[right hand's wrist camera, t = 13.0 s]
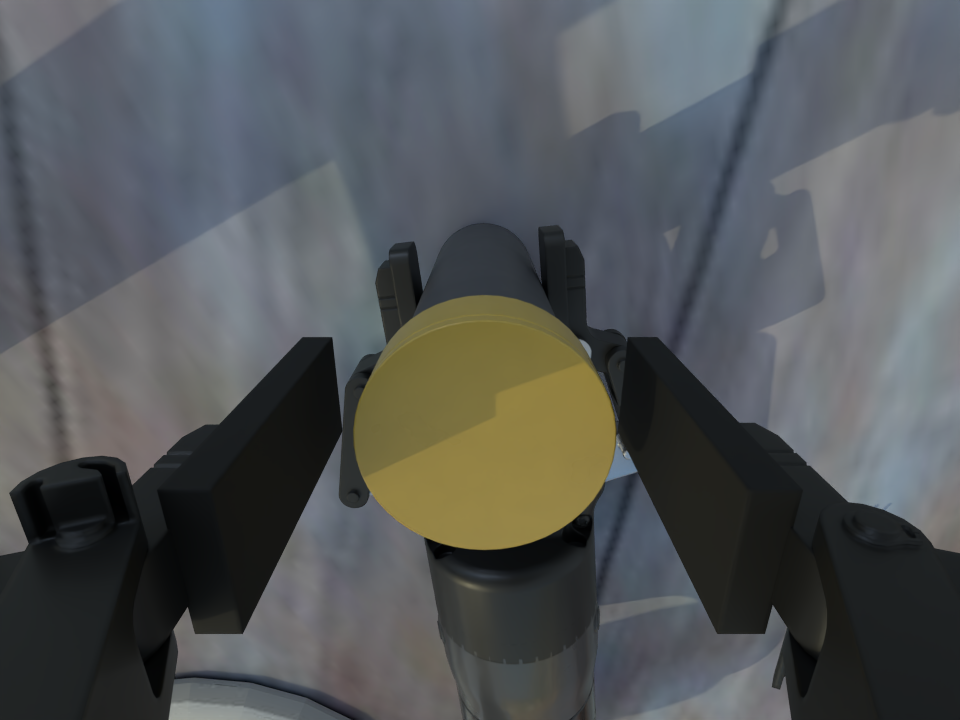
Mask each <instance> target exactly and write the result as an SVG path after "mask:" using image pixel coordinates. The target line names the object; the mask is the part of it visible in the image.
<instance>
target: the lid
mask: <svg viewBox="0 0 960 720" xmlns="http://www.w3.org/2000/svg"><path fill="white" fill-rule="evenodd" d="M616 432H617V429H616V421H615V414H614V410H613V407H612V403H611V400H610V397H609V395H608V393H607V391H606V389H605V386H604V384H603V382H602V380H601V379H600V376H599V374H598V372H597V371H596V369H595V367H594V365H593V363H592V361H591V359H590V357H589V355H588V353H587V351H586V350H585V348H584V347H583V345H582V344H581V342H580V340H579V339H578V338H577V337H576V336H575V335H574V333H573V332H572V331H571V330H570V329H569V328H568V327H567V326H566V325H564V324H563V323H562V322H561V321H560V320H559V319H557V318H556V317H554V316H553V315H551V314H550V313H548V312H547V311H545V310H543V309H541V308H539V307H537V306H534V305H532V304H530V303H527V302H524V301H521V300H518V299H513V298H508V297H503V296H492V295H478V296H466V297H461V298H456V299H452V300H449V301H446V302H443V303H440V304H437V305H435V306H433V307H431V308H429V309H427V310H425V311H423V312H421V313H420V314H418V315H417V316H415V317H414V318H412V319H411V320H409V321H408V322H407V323H406V324H405V325H404V326H403V327H401V328H400V329H399V330H398V331H397V333H396V334H395V335H394V336H393V337H392V338H391V340H390V341H389V342H388V344H387V345H386V347H385V349H384V350H383V352H382V353H381V355H380V357H379V359H378V361H377V363H376V365H375V368H374V370H373V372H372V374H371V376H370V378H369V380H368V382H367V384H366V386H365V388H364V390H363V392H362V395H361V397H360V399H359V402H358V406H357V410H356V413H355V419H354V427H353V440H354V450H355V455H356V460H357V463H358V466H359V469H360V472H361V475H362V477H363V479H364V481H365V483H366V485H367V487H368V489H369V490H370V492H371V493H372V494H373V496H374V497H375V499H376V500H377V501H378V502H379V504H380V505H381V506H382V507H383V508H384V509H385V510H386V511H387V512H388V513H389V514H390V515H391V516H392V517H394V518H395V519H396V520H397V521H398V522H400V523H401V524H403V525H404V526H406V527H407V528H409V529H410V530H412V531H414V532H416V533H417V534H419V535H421V536H423V537H425V538H428V539H431V540H433V541H436V542H438V543H442V544H446V545H449V546H453V547H459V548H465V549H477V550H493V549H504V548H510V547H516V546H520V545H524V544H528V543H531V542H534V541H536V540H539V539H542V538H544V537H546V536H548V535H550V534H552V533H554V532H556V531H558V530H560V529H561V528H563V527H564V526H566V525H567V524H568V523H570V522H571V521H573V520H574V519H575V518H576V517H577V516H578V515H580V514H581V513H582V512H583V511H584V510H585V509H586V508H587V507H588V505H589V504H590V503H591V502H592V501H593V500H594V498H595V497H596V495H597V494H598V492H599V491H600V490H601V488H602V486H603V484H604V482H605V480H606V478H607V476H608V474H609V471H610V468H611V465H612V462H613V459H614V454H615V448H616Z"/></svg>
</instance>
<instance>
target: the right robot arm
mask: <svg viewBox="0 0 960 720" xmlns="http://www.w3.org/2000/svg"><path fill="white" fill-rule="evenodd" d="M341 433H342V423H341V414H340V405H339V395H338V386H337V377H336V368H335V359H334V349H333V340H332V337H302V338H301V339H300V341H299V342H298V343H297V344H296V345H295V346H294V347H293V348H292V349H291V350H290V351H289V352H288V353H287V354H286V355H285V356H284V357H283V358H282V359H281V360H280V361H279V363H278V364H277V365H276V366H275V367H274V368H273V369H272V370H271V371H270V372H269V373H268V374H267V375H266V376H265V377H264V378H263V379H262V380H261V381H260V382H259V383H258V385H257V386H256V387H255V388H254V389H253V390H252V391H251V392H250V393H249V394H248V395H247V396H246V397H245V398H244V399H243V400H242V401H241V402H240V403H239V404H238V405H237V407H236V408H235V409H234V410H233V411H232V412H231V413H230V414H229V415H228V416H227V417H226V418H225V419H224V420H223V421H222V422H221V423H220V424H219V425H204V426H202V427H200V428H199V429H197V430H195V431H193V432H191V433H189V434H188V435H186V436H184V437H182V438H181V439H180V440H179V441H178V442H177V443H176V444H175V445H174V446H173V447H172V448H171V449H170V450H169V451H168V452H167V455H163V456H162V457H161V458H160V459H159V460H158V461H157V462H156V463H155V464H154V468H150V469H149V470H148V471H147V472H146V473H145V474H144V475H143V476H142V477H141V478H140V479H138V480H137V481H136V482H135V483H134V484H133V485H132V484H131V480H130V477H129V473H128V470H127V466H126V463H125V462H123V461H121V460H120V459H118V458H115V457H107V456H96V457H85V458H79V459H75V460H71V461H67V462H63V463H60V464H57V465H54V466H52V467H49V468H47V469H44V470H42V471H39V472H37V473H36V474H34V475H32V476H30V477H29V478H27V479H25V480H23V481H22V482H20V483H19V484H18V485H17V486H16V487H15V488H14V489H13V490H12V491H11V492H10V493H9V494H10V496H11V499H12V501H13V504H14V507H15V509H16V512H17V514H18V517H19V519H20V522H21V525H22V527H23V530H24V532H25V535H26V537H27V540H28V543H29V544H28V546H27V548H26V550H25V551H23V552H18V553H12V554H7V555H2V556H0V720H169V714H170V706H171V699H172V692H173V685H174V678H175V671H176V663H177V656H178V648H177V641H176V638H175V634H174V631H173V629H174V627H175V626H176V624H177V623H178V621H179V619H180V618H181V616H182V615H183V613H184V612H185V610H186V609H187V607H188V609H189V613H190V616H191V620H192V624H193V628H194V631H195V634H243V632H244V630H245V628H246V626H247V624H248V622H249V620H250V618H251V616H252V614H253V612H254V610H255V608H256V606H257V604H258V602H259V600H260V598H261V596H262V594H263V591H264V589H265V587H266V585H267V583H268V581H269V579H270V577H271V575H272V573H273V571H274V569H275V567H276V565H277V563H278V561H279V559H280V557H281V555H282V553H283V551H284V549H285V547H286V545H287V543H288V541H289V539H290V537H291V535H292V533H293V530H294V528H295V526H296V524H297V522H298V520H299V518H300V516H301V514H302V512H303V510H304V508H305V506H306V504H307V502H308V500H309V498H310V496H311V494H312V492H313V490H314V488H315V486H316V484H317V482H318V480H319V478H320V476H321V474H322V472H323V470H324V467H325V465H326V463H327V461H328V459H329V457H330V455H331V453H332V451H333V449H334V447H335V445H336V443H337V441H338V439H339V437H340V435H341ZM618 433H619V435H620V437H621V439H622V441H623V443H624V445H625V447H626V449H627V451H628V453H629V455H630V457H631V459H632V461H633V463H634V465H635V467H636V470H637V472H638V474H639V476H640V478H641V480H642V482H643V484H644V486H645V488H646V490H647V492H648V494H649V496H650V498H651V500H652V502H653V504H654V506H655V508H656V510H657V512H658V514H659V516H660V518H661V520H662V522H663V524H664V526H665V528H666V530H667V533H668V535H669V537H670V539H671V541H672V543H673V545H674V547H675V549H676V551H677V553H678V555H679V557H680V559H681V561H682V563H683V565H684V567H685V569H686V571H687V573H688V575H689V577H690V579H691V581H692V583H693V585H694V587H695V589H696V591H697V594H698V596H699V598H700V600H701V602H702V604H703V606H704V608H705V610H706V612H707V614H708V616H709V618H710V620H711V622H712V624H713V626H714V628H715V630H716V632H717V634H765V631H766V628H767V624H768V620H769V616H770V613H771V609H772V605H773V606H774V607H775V609H776V610H777V612H778V613H779V615H780V617H781V618H782V620H783V621H784V623H785V624H786V626H787V631H786V634H785V638H784V641H783V645H782V648H781V652H780V655H779V659H778V662H777V666H776V669H775V673H774V677H773V683H772V687H773V688H776V689H780V688H781V684H782V681H783V677H785V676H786V683H787V690H788V698H789V705H790V712H791V719H792V720H960V553H955V552H950V551H945V550H940V549H935V548H934V547H933V545H932V543H931V542H930V541H929V540H928V539H927V537H926V536H925V535H924V534H923V533H922V532H921V531H920V530H919V529H917V528H916V527H915V526H913V525H912V524H910V523H909V522H907V521H906V520H904V519H902V518H900V517H898V516H896V515H894V514H891V513H889V512H887V511H885V510H882V509H879V508H875V507H872V506H868V505H864V504H858V503H849V502H847V501H846V500H845V499H844V498H843V497H842V496H841V495H840V494H839V493H838V492H837V491H836V490H835V489H834V488H833V487H832V486H831V485H830V484H828V483H827V482H826V481H825V480H824V479H823V478H822V477H821V476H820V475H819V474H818V473H817V472H816V471H815V470H814V469H813V468H812V467H811V466H807V464H806V462H805V461H804V460H803V459H802V458H801V457H800V456H799V455H798V454H797V453H794V452H793V451H794V450H793V449H792V448H791V447H790V446H789V445H788V444H786V443H785V442H784V441H783V440H782V439H781V438H780V437H779V436H778V435H776V434H774V433H773V432H771V431H769V430H767V429H765V428H763V427H761V426H760V425H758V424H756V423H739V422H738V421H737V420H736V419H735V418H734V417H733V416H732V415H731V414H730V413H729V412H728V411H727V410H726V409H725V408H724V407H723V405H722V404H721V403H720V402H719V401H718V400H717V399H716V398H715V397H714V396H713V395H712V394H711V393H710V392H709V391H708V390H707V389H706V388H705V387H704V386H703V385H702V383H701V382H700V381H699V380H698V379H697V378H696V377H695V376H694V375H693V374H692V373H691V372H690V371H689V370H688V369H687V368H686V367H685V366H684V365H683V364H682V363H681V361H680V360H679V359H678V358H677V357H676V356H675V355H674V354H673V353H672V352H671V351H670V350H669V349H668V348H667V347H666V346H665V345H664V344H663V343H662V342H661V341H660V339H659V338H658V337H628V340H627V349H626V359H625V368H624V377H623V386H622V395H621V405H620V414H619V423H618Z"/></svg>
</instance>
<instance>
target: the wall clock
mask: <svg viewBox="0 0 960 720" xmlns="http://www.w3.org/2000/svg"><path fill="white" fill-rule="evenodd" d="M169 720H351V719H349V718H347V717H345V716H343V715H341V714H339V713H337V712H334V711H332V710H330V709H328V708H326V707H324V706H322V705H320V704H318V703H316V702H314V701H312V700H310V699H308V698H305V697H301V696H298V695H294V694H290V693H287V692H283V691H279V690H276V689H272V688H268V687H265V686H261V685H257V684H254V683H247V682H236V681H226V680H215V679H204V678H185V679H174V685H173V692H172V699H171V706H170V714H169Z"/></svg>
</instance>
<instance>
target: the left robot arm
mask: <svg viewBox="0 0 960 720" xmlns="http://www.w3.org/2000/svg"><path fill="white" fill-rule="evenodd" d="M538 233H539V250H540V265H541V280H542V287H543V289H544V292H545V294H546V296H547V299H548V301H549V303H550V306H551V308H552V310H553V313H554V315H555V317H556V318H557V319H559V320H560V321H561V322H562V323H563V324H564V325H566V326H567V327H568V328H569V329H570V330H571V331H572V332H573V333H574V335H575V336H576V337H577V338H578V339H579V340H580V342H581V344H582V345H583V347H584V348H585V350H586V351H587V353H588V355H589V357H590V359H591V361H592V363H593V365H594V367H595V369H596V371H600V372H603V373H604V376H605V379H606V382H607V385H608V388H609V391H610V394H611V397H612V401H613V404H614V407H615V410H616V413H617V416H618V419H619V414H620V405H621V395H622V386H623V377H624V368H625V359H626V349H627V341H626V339H625V338H624V336H623V335H622V334H621V333H620V332H619V331H617V330H614V329H608V330H605V331H602V330H597V329H593V328H591V327H589V326H587V321H586V293H585V265H584V258H583V256H582V254H581V252H580V249H579V247H578V246H577V245H576V244H575V243H574V242H573V241H572V240H565V239H564V233H563V230H562V229H561V228H560V227H559V226H558V225H554V226H545V227H539V230H538ZM375 284H376V289H377V294H378V298H379V305H380V309H381V316H382V321H383V326H384V332H385V337H386V342H387V344H388V342H389V341H390V340H391V338H392V337H393V336H394V335H395V334H396V333H397V331H398V330H399V329H400V328H401V327H403V326H404V325H405V324H406V323H407V322H408V321H409V320H411V319H412V318H413V315H414V313H415V311H416V308H417V306H418V303H419V301H420V299H421V296H422V294H423V289H422V283H421V276H420V270H419V263H418V257H417V250H416V246H415V243H414V242H405V243H396V244H394V246H393V247H392V248H391V249H390V250H389V260H387V261H385V262H384V263H383V264H382V265H381V266H380V267H379V268H378V273H377V278H376V283H375ZM382 352H383V351H381V352H379V353H377V354H369V355H366V356H364V357H363V358H362V359H361V360H360V362H359V364H358V366H357V367H356V369H355V371H354V373H353V374H352V376H351V378H350V380H349V381H348V383H347V385H346V387H345V400H344V417H343V433H342V450H341V467H340V484H339V498H340V500H341V502H342V503H343V504H344V505H346V506H348V507H351V508H359V507H362V506H363V505H365V504H366V503H367V501H368V498H369V495H370V496H373V494H372V493H371V492H370V490H369V489H368V487H367V485H366V483H365V481H364V479H363V477H362V475H361V472H360V469H359V466H358V463H357V460H356V455H355V450H354V440H353V427H354V419H355V413H356V410H357V406H358V402H359V399H360V397H361V395H362V392H363V390H364V388H365V386H366V384H367V382H368V380H369V378H370V376H371V374H372V372H373V370H374V368H375V365H376V363H377V361H378V359H379V357H380V355H381V353H382ZM618 423H619V421H616V429H617V432H616V448H615V454H614V459H613V462H612V465H611V468H610V471H609V474H608V476H607V478H606V480H605V482H607V481H611V480H614V479H617V478H620V477H623V476H627V475H630V474H633V473H636V472H637V470H636V467H635V465H634V463H633V461H632V459H631V457H630V455H629V453H628V451H627V449H626V447H625V445H624V443H623V441H622V439H621V437H620V435H619V433H618ZM605 482H604V484H603V486H602V488H601V490H600V491H599V492H598V494H597V495H596V497H595V498H594V500H593V501H592V502H591V503H590V504H589V505H588V507H587V508H586V509H585V510H584V511H583V512H582V513H581V514H580V515H578V516H577V517H576V518H575V519H574V520H573V521H571V522H570V523H568V524H567V525H566V526H564V527H563V528H561V529H560V530H558V531H556V532H554V533H552V534H550V535H548V536H546V537H544V538H542V539H539V540H536V541H534V542H531V543H528V544H524V545H520V546H516V547H510V548H504V549H493V550H477V549H465V548H459V547H453V546H449V545H446V544H442V543H438V542H436V541H433V540H431V539H428V538H425V537H424V540H425V545H426V550H427V556H428V561H429V567H430V572H431V577H432V583H433V588H434V594H435V599H436V604H437V610H438V621H437V622H438V628H439V633H440V637H441V639H442V641H443V643H444V647H445V652H446V656H447V659H448V662H449V665H450V668H451V671H452V674H453V676H454V679H455V681H456V685H457V690H458V695H459V701H460V706H461V712H462V717H463V720H596V710H595V686H594V666H595V660H596V654H597V643H598V630H599V618H600V612H599V606H598V603H597V595H596V570H595V542H594V508H595V505H596V503H597V501H598V499H599V497H600V496H601V494H602V492H603V490H604V487H605Z"/></svg>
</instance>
